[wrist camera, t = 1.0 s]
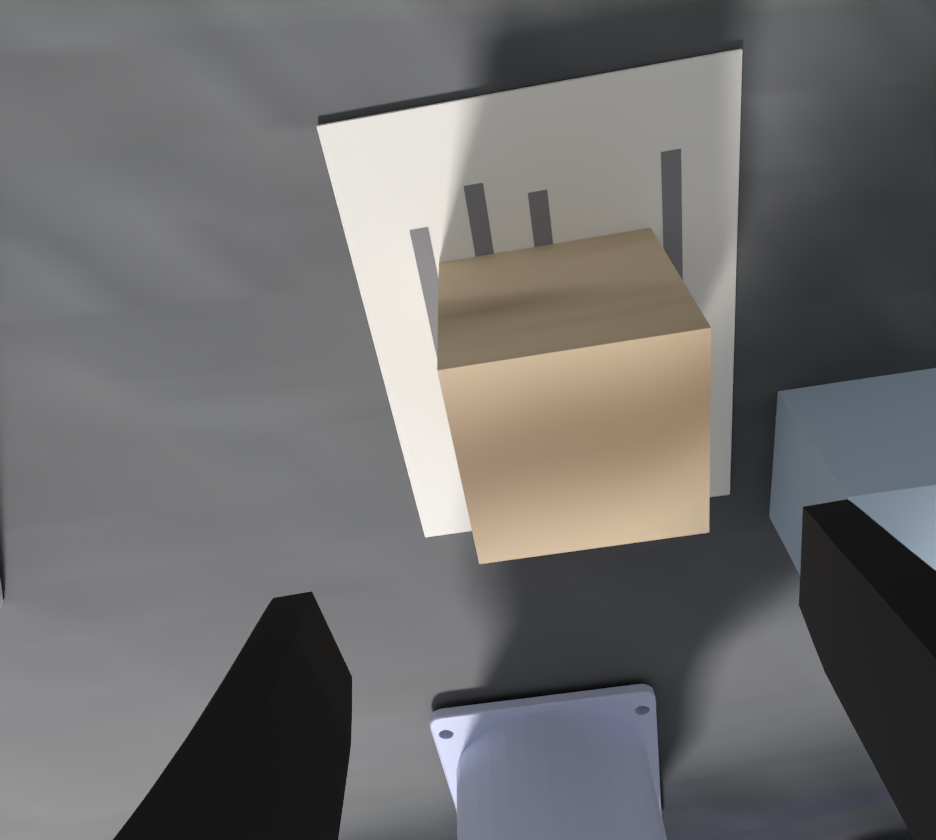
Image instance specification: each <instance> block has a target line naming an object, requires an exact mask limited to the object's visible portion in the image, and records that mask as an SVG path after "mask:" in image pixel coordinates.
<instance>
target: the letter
mask: <svg viewBox="0 0 936 840" xmlns="http://www.w3.org/2000/svg"><path fill="white" fill-rule="evenodd" d="M741 85H742V49H736V50H730V51H724V52H719V53H713V54H708V55H702V56H697V57H691V58H686V59H680V60H675V61H669V62H664V63H658V64H652V65H647V66H641V67H636V68H630V69H625V70H619V71H614V72H608V73H603V74H597V75H592V76H586V77H580V78H575V79H569V80H564V81H558V82H553V83H547V84H542V85H536V86H531V87H525V88H520V89H514V90H508V91H503V92H497V93H492V94H486V95H481V96H475V97H470V98H464V99H459V100H453V101H447V102H442V103H436V104H431V105H425V106H420V107H414V108H409V109H403V110H398V111H392V112H387V113H381V114H375V115H370V116H364V117H359V118H353V119H348V120H342V121H337V122H331V123H326V124H320V125H317V130H318V134H319V137H320V141H321V145H322V149H323V153H324V156H325V160H326V164H327V168H328V171H329V175H330V179H331V183H332V187H333V190H334V194H335V198H336V202H337V206H338V209H339V213H340V217H341V221H342V224H343V228H344V232H345V236H346V240H347V243H348V247H349V251H350V255H351V258H352V262H353V266H354V270H355V274H356V277H357V281H358V285H359V289H360V293H361V296H362V300H363V304H364V308H365V311H366V315H367V319H368V323H369V327H370V330H371V334H372V338H373V342H374V345H375V349H376V353H377V357H378V361H379V364H380V368H381V372H382V376H383V380H384V383H385V387H386V391H387V395H388V398H389V402H390V406H391V410H392V414H393V417H394V421H395V425H396V429H397V433H398V436H399V440H400V444H401V448H402V451H403V455H404V459H405V463H406V467H407V470H408V474H409V478H410V482H411V485H412V489H413V493H414V497H415V501H416V504H417V508H418V512H419V516H420V520H421V523H422V527H423V531H424V535H425V537H431V536H439V535H446V534H453V533H460V532H467V531H472V528H471V524H470V519H469V514H468V510H467V505H466V501H465V496H464V491H463V487H462V482H461V478H460V473H459V468H458V464H457V459H456V455H455V450H454V446H453V441H452V436H451V432H450V427H449V423H448V418H447V413H446V409H445V404H444V400H443V395H442V390H441V386H440V381H439V377H438V372H437V347H438V281H439V263H441V262H447V261H453V260H459V259H465V258H472V257H478V256H484V255H490V254H496V253H502V252H508V251H514V250H520V249H526V248H532V247H538V246H544V245H550V244H556V243H562V242H568V241H574V240H580V239H586V238H592V237H598V236H604V235H610V234H616V233H622V232H628V231H634V230H640V229H646V228H651V229H652V231H653V232H654V234H655V236H656V237H657V239H658V240H659V242H660V244H661V245H662V247H663V249H664V250H665V252H666V254H667V255H668V257H669V259H670V260H671V262H672V264H673V265H674V267H675V269H676V270H677V272H678V274H679V275H680V277H681V279H682V280H683V282H684V284H685V285H686V287H687V288H688V290H689V292H690V293H691V295H692V297H693V298H694V300H695V302H696V303H697V305H698V307H699V308H700V310H701V312H702V313H703V315H704V317H705V318H706V320H707V322H708V323H709V325H710V327H711V402H710V497H716V496H723V495H730V472H731V436H732V401H733V366H734V331H735V296H736V261H737V225H738V190H739V155H740V120H741Z"/></svg>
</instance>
